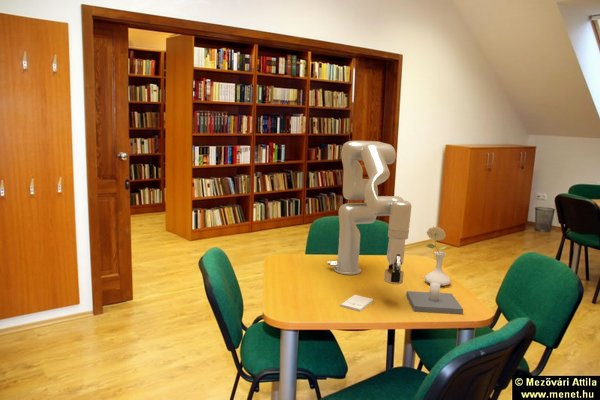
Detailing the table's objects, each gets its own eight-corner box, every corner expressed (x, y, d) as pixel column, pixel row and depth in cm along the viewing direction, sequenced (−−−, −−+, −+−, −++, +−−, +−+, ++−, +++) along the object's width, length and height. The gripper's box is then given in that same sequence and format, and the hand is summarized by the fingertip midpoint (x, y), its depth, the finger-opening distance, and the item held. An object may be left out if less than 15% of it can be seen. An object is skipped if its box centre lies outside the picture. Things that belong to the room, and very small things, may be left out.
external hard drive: (373, 303, 189) (359, 313, 179) (353, 298, 194) (339, 307, 183) (373, 299, 189) (360, 309, 179) (354, 294, 193) (340, 303, 183)
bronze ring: (385, 283, 184) (386, 273, 183) (383, 277, 190) (384, 267, 189) (403, 285, 183) (404, 275, 183) (400, 278, 190) (401, 268, 189)
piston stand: (413, 311, 182) (415, 289, 180) (406, 295, 197) (408, 275, 196) (462, 314, 181) (465, 292, 180) (451, 298, 197) (453, 278, 195)
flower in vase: (455, 284, 214) (461, 228, 210) (443, 290, 206) (449, 232, 202) (428, 276, 223) (433, 223, 219) (415, 281, 215) (420, 226, 210)
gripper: (385, 226, 192) (380, 270, 195) (391, 239, 175) (386, 286, 178) (404, 228, 191) (399, 271, 195) (412, 240, 174) (407, 287, 178)
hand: (393, 278), depth 187 cm, fingers closed on bronze ring, 6 cm apart
